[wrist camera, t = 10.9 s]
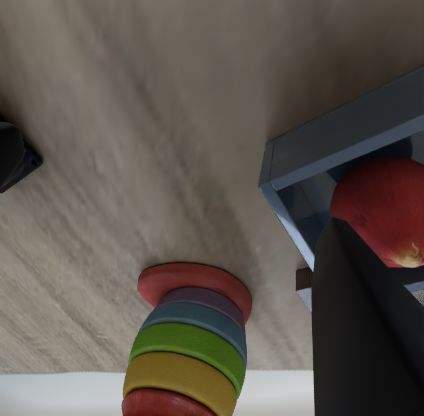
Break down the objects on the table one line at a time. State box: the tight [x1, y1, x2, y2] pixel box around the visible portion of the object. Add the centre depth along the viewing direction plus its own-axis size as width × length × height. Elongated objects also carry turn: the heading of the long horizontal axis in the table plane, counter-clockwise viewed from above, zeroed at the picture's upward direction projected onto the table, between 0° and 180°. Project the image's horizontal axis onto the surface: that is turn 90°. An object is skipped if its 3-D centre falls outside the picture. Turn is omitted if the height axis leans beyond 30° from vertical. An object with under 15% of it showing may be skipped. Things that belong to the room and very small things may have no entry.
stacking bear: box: [122, 263, 252, 416], centre depth 25 cm, size 11×10×18 cm
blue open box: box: [258, 65, 424, 292], centre depth 19 cm, size 10×10×6 cm
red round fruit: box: [330, 156, 424, 268], centre depth 18 cm, size 6×6×8 cm
